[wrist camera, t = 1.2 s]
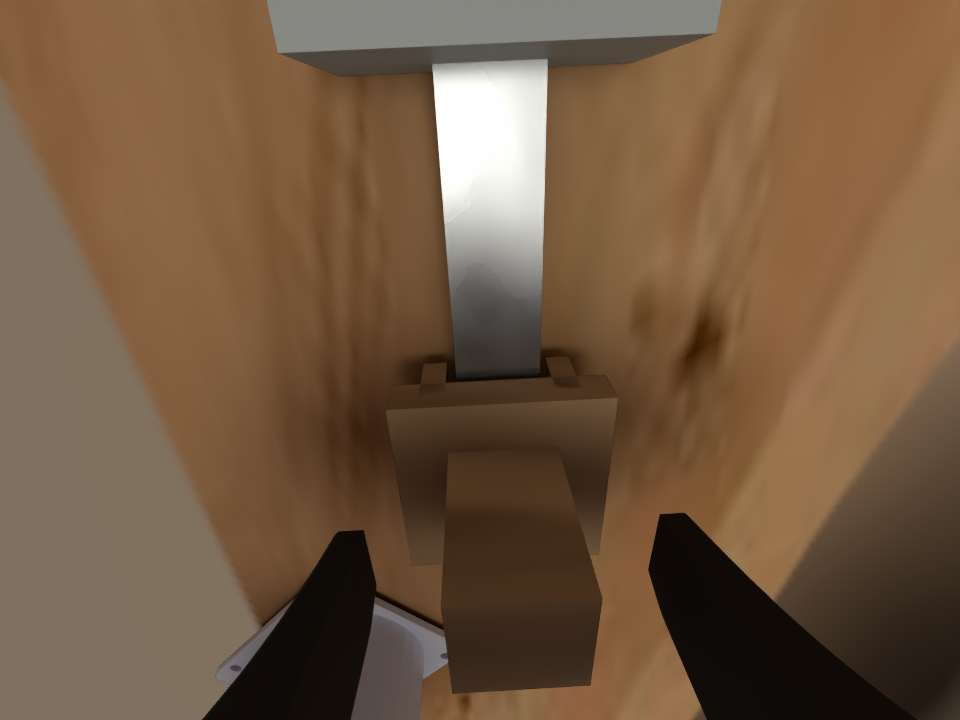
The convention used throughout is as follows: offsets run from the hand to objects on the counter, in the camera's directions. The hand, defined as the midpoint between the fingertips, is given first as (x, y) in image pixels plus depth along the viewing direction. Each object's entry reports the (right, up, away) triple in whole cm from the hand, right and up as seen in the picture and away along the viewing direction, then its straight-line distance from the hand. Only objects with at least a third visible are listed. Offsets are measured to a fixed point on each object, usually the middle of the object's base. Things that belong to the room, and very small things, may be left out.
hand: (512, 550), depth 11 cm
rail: (0, +6, +3) cm, 6 cm away
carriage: (0, +2, +5) cm, 5 cm away
